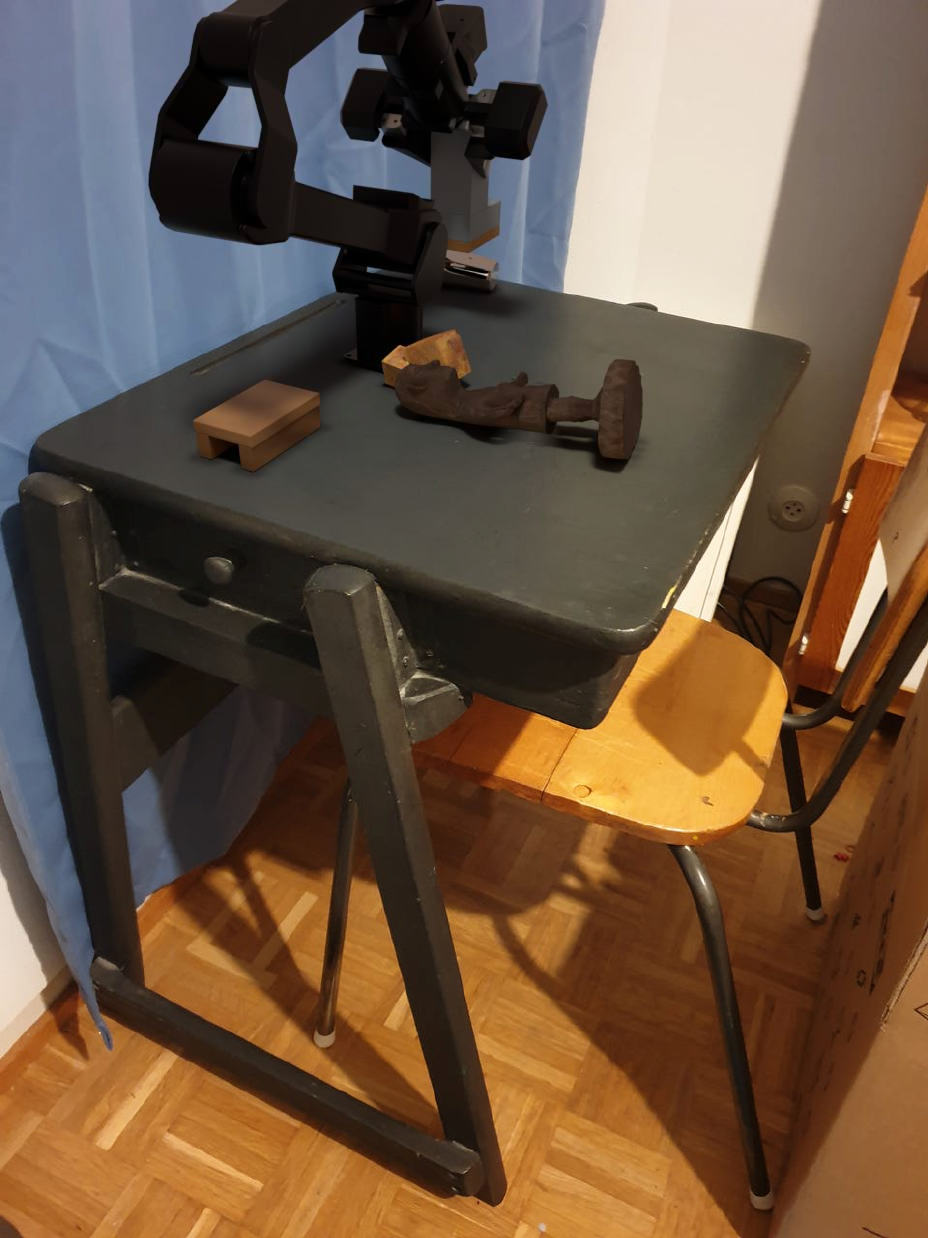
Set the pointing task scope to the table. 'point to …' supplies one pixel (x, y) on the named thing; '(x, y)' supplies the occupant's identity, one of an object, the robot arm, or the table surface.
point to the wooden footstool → (259, 423)
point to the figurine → (530, 403)
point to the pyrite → (428, 355)
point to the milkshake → (470, 271)
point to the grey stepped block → (461, 194)
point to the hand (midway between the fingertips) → (465, 171)
